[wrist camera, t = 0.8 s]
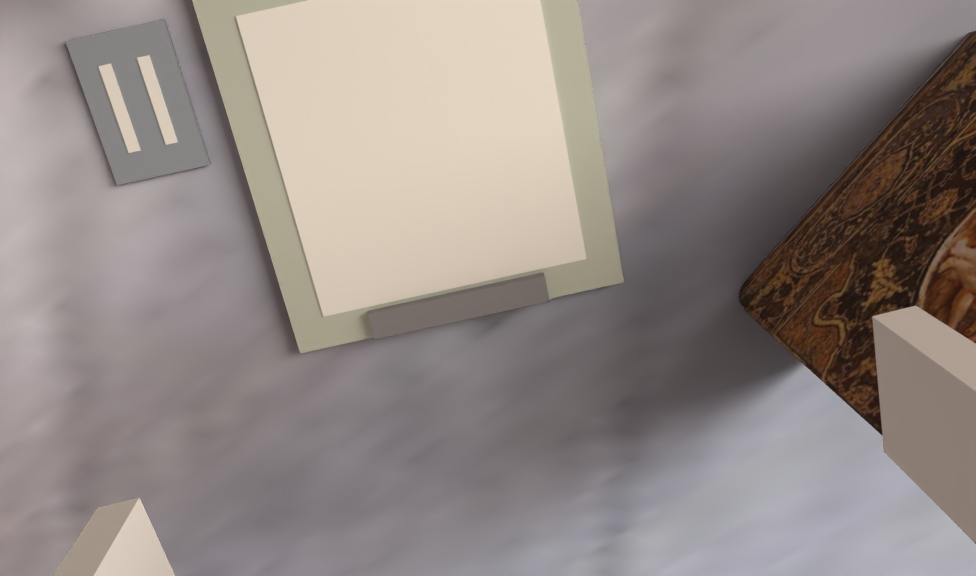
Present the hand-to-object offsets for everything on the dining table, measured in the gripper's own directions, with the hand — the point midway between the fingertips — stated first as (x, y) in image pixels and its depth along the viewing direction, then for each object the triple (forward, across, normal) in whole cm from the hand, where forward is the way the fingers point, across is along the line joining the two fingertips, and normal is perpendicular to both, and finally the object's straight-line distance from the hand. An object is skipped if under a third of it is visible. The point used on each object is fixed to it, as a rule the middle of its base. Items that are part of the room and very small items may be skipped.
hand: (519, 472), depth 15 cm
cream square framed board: (+23, -1, +2) cm, 23 cm away
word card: (+23, -12, +7) cm, 27 cm away
